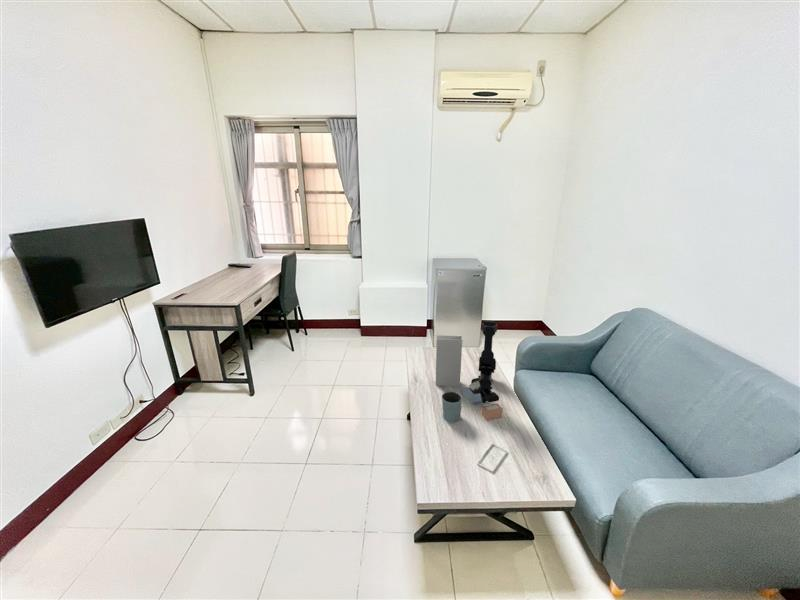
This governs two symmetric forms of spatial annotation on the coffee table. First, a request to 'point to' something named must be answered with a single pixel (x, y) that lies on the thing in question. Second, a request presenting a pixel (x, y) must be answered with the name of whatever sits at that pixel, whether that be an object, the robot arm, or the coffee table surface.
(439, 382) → the tall grey box
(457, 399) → the blue-grey cup
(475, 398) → the blue book
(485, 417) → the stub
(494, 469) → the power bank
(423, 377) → the coffee table surface
